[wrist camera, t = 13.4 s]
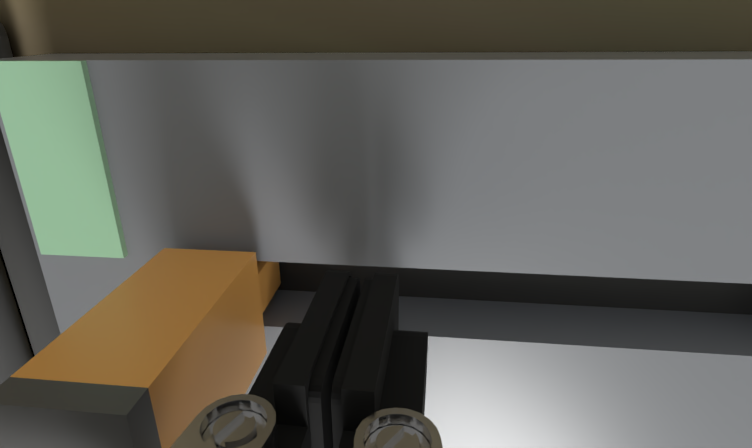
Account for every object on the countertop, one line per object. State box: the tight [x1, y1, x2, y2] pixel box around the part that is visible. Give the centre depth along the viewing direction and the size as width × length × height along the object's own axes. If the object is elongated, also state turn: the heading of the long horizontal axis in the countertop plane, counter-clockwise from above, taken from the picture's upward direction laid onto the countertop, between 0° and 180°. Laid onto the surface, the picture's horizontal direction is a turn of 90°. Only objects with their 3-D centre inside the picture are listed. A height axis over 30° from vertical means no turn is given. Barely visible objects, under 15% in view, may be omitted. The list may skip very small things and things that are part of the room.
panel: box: [0, 51, 752, 448], centre depth 14 cm, size 12×24×3 cm, turn 91°
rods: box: [0, 22, 61, 385], centre depth 16 cm, size 15×4×2 cm, turn 1°
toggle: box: [0, 248, 281, 448], centre depth 12 cm, size 3×2×8 cm
